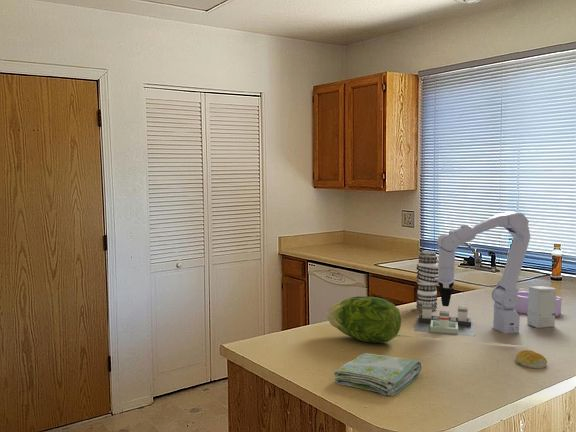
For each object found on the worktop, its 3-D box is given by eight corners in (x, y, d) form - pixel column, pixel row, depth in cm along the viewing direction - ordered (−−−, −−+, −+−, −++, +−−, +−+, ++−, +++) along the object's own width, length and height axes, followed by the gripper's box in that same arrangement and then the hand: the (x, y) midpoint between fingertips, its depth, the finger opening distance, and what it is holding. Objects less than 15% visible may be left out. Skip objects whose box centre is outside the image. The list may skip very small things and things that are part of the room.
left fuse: (431, 323, 211) (431, 307, 210) (422, 322, 212) (422, 306, 211) (431, 320, 214) (431, 305, 213) (422, 320, 215) (422, 304, 214)
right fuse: (467, 325, 207) (467, 309, 206) (457, 325, 208) (458, 308, 207) (466, 323, 210) (467, 307, 210) (457, 322, 211) (457, 306, 211)
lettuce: (336, 329, 204) (336, 288, 203) (406, 340, 191) (407, 296, 190) (318, 339, 192) (318, 295, 190) (392, 352, 178) (393, 305, 177)
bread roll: (531, 358, 174) (532, 345, 174) (551, 368, 165) (552, 355, 165) (508, 360, 172) (509, 347, 172) (527, 370, 163) (528, 357, 163)
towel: (330, 384, 152) (331, 366, 152) (365, 363, 169) (366, 346, 169) (392, 400, 142) (392, 381, 141) (422, 375, 159) (423, 358, 159)
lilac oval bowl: (562, 312, 232) (563, 295, 232) (557, 318, 222) (557, 301, 222) (512, 305, 244) (513, 289, 243) (505, 310, 234) (506, 294, 233)
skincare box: (537, 328, 207) (539, 289, 206) (526, 324, 213) (527, 286, 212) (555, 326, 209) (557, 288, 208) (543, 322, 215) (545, 285, 214)
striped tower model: (410, 310, 233) (412, 251, 231) (423, 306, 240) (425, 249, 238) (429, 314, 227) (430, 254, 225) (442, 310, 233) (443, 252, 231)
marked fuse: (448, 330, 200) (449, 313, 200) (438, 329, 201) (439, 313, 201) (448, 328, 204) (449, 311, 203) (439, 327, 205) (439, 310, 204)
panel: (474, 338, 194) (475, 330, 194) (413, 333, 200) (414, 326, 200) (472, 324, 212) (472, 317, 212) (416, 319, 218) (417, 313, 218)
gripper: (435, 263, 209) (434, 298, 210) (434, 269, 195) (433, 307, 196) (454, 264, 207) (453, 299, 208) (455, 270, 193) (454, 308, 194)
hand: (445, 303), depth 202 cm, fingers open, 7 cm apart
